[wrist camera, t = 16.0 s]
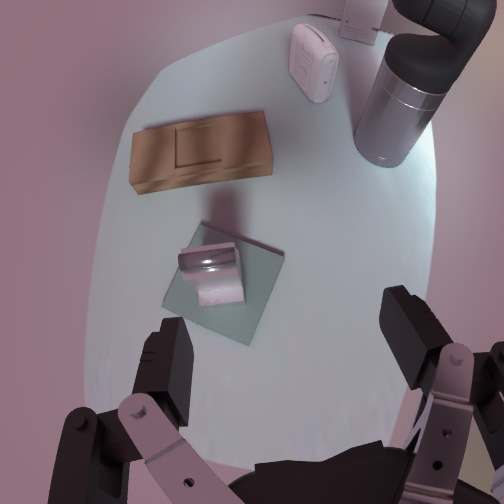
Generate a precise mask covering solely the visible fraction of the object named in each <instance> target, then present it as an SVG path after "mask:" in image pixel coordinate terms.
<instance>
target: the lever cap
mask: <svg viewBox="0 0 504 504" xmlns="http://www.w3.org/2000/svg"><path fill="white" fill-rule="evenodd" d="M178 263H179V268H180V271H181V272H182V271H183V281H185V282H186V283H187V284H188V285H189V286H191V287H192V288H193V289H194V290H195V291H197V292H198V296H199V306H200V307H202V308H203V309H205V310H210V309H219V308H227V307H236V306H244V305H246V302H245V294H244V286H243V277H242V269H241V260H240V255H239V251H238V249H236V247H235V243H234V242H229V243H222V244H214V245H206V246H199V247H191V248H184V249H181V254H179V255H178Z"/></svg>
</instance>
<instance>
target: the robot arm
mask: <svg viewBox="0 0 504 504" xmlns="http://www.w3.org/2000/svg"><path fill="white" fill-rule="evenodd" d="M392 2H393V4H394V7H395V9H396V10H397V11H398V13H400V14H401V15H402V16H404V17H405V18H407V19H409V20H411V21H412V22H415V23H417V24H419V25H421V26H423V27H425V28H427V29H429V30H431V31H433V32H435V33H437V34H439V35H436V36H435V35H434V36H426V35H417V34H406V33H405V34H398V35H395V36H394V37H392V38H391V39H390V41H389V42H388V45H387V47H386V50H385V54H384V56H383V59H382V62H381V65H380V68H379V71H378V74H377V76H376V79H375V82H374V85H373V87H372V90H371V93H370V96H369V98H368V101H367V104H366V106H365V109H364V111H363V114H362V116H361V119H360V122H359V124H358V127H357V129H356V132H355V135H354V140H355V145H356V147H357V149H358V151H359V152H360V153H361V155H362V156H363V157H364V158H365V159H367V160H368V161H369V162H371V163H373V164H375V165H377V166H380V167H386V168H392V167H396V166H398V165H400V164H401V163H402V162H403V161H404V160H405V158H406V157H407V155H408V154H409V152H410V151H411V149H412V148H413V146H414V145H415V143H416V142H417V140H418V139H419V137H420V136H421V134H422V133H423V131H424V129H425V128H426V126H427V125H428V123H429V122H430V120H431V119H432V117H433V115H434V114H435V112H436V111H437V109H438V107H439V106H440V104H441V102H442V101H443V99H444V97H445V96H446V94H447V92H448V91H449V89H450V88H451V86H452V84H453V83H454V82H455V81H456V80H457V78H458V77H459V76H460V74H461V72H462V71H463V69H464V67H465V66H466V64H467V63H468V61H469V59H470V58H471V56H472V55H473V53H474V52H475V51H476V49H477V47H478V46H479V45H480V43H481V41H482V40H483V38H484V37H485V35H486V33H487V32H488V30H489V28H490V26H491V24H492V22H493V19H494V17H495V12H496V7H497V0H392ZM379 324H380V328H381V331H382V333H383V335H384V337H385V339H386V341H387V343H388V345H389V347H390V349H391V351H392V353H393V355H394V357H395V359H396V361H397V363H398V365H399V367H400V369H401V371H402V373H403V375H404V377H405V379H406V381H407V383H408V385H409V387H410V389H411V390H414V389H417V388H421V390H422V392H423V393H422V395H421V397H420V401H419V404H418V407H417V410H416V414H415V417H414V420H413V423H412V426H411V429H410V432H409V434H408V437H407V439H406V441H405V443H404V445H403V447H402V449H401V448H395V447H383V444H382V441H381V440H379V441H375V442H372V443H368V444H364V445H361V446H357V447H353V448H350V449H348V450H346V451H344V452H342V453H340V454H338V455H336V456H334V457H331V458H329V459H327V460H325V461H321V462H309V461H292V460H284V461H276V462H268V463H259V464H255V471H253V472H250V473H248V474H246V475H243V476H241V477H240V478H238V479H236V480H235V481H233V482H232V483H230V484H229V485H228V486H227V485H226V484H224V482H223V481H222V480H221V479H220V478H219V477H218V476H217V475H216V474H215V473H214V472H213V471H212V469H211V468H210V467H209V466H208V465H207V464H206V463H205V462H204V461H203V459H202V458H201V457H200V456H199V455H198V454H197V452H196V451H195V450H194V449H193V448H192V447H191V445H190V444H189V443H188V442H187V441H186V440H185V439H184V438H183V437H182V436H181V435H180V433H179V427H184V426H188V419H189V406H190V394H191V383H192V372H193V361H194V352H193V346H192V342H191V339H190V336H189V334H188V331H187V328H186V325H185V322H184V319H183V317H173V318H164V319H163V320H162V323H161V327H160V332H152V333H151V334H150V336H149V337H148V338H147V340H146V341H145V343H144V347H143V351H142V355H141V359H140V363H139V366H138V370H137V375H136V379H135V383H134V387H133V391H132V395H130V396H128V397H126V398H125V399H124V400H123V401H122V402H121V404H120V405H119V408H118V409H115V410H112V411H108V412H104V413H100V414H96V413H95V412H94V411H93V410H92V409H90V408H87V407H80V408H77V409H74V410H73V411H71V412H70V413H69V415H68V416H67V418H66V419H65V423H64V426H63V430H62V434H61V439H60V442H59V447H58V451H57V455H56V461H55V465H54V470H53V475H52V480H51V486H50V492H49V498H48V504H127V494H128V480H129V467H130V462H131V461H136V460H140V459H144V460H145V465H146V467H147V469H148V470H149V472H150V473H151V474H152V476H153V477H154V479H155V480H156V482H157V483H158V485H159V486H160V487H161V489H162V490H163V491H164V493H165V494H166V495H167V497H168V498H169V499H170V501H171V502H172V503H173V504H504V402H503V400H502V398H501V396H500V394H499V392H500V391H501V393H502V395H503V397H504V342H497V343H495V344H494V345H493V346H492V348H491V350H490V352H482V353H472V352H471V350H470V349H469V348H468V347H466V346H464V345H462V344H459V343H454V342H453V341H452V339H451V338H450V336H449V335H448V333H447V332H446V331H445V329H444V328H443V326H442V325H441V323H440V322H439V321H438V319H436V317H435V315H434V314H433V312H431V309H430V308H429V307H428V305H427V304H426V302H425V301H423V300H422V299H420V298H419V297H418V296H416V295H412V296H411V295H410V294H409V292H408V291H407V289H406V288H405V287H404V286H403V285H399V286H394V287H388V288H385V289H384V292H383V298H382V304H381V310H380V315H379ZM472 414H473V417H474V419H475V421H476V423H477V426H478V428H479V431H480V433H481V435H482V438H483V440H484V443H485V445H486V448H487V450H488V453H489V456H490V458H491V461H492V464H493V466H494V469H495V474H494V476H493V480H492V485H491V488H490V490H491V493H492V494H493V496H491V495H489V494H487V493H485V492H483V491H481V490H479V489H477V488H475V487H473V486H471V485H469V484H467V483H466V482H464V481H462V480H460V479H458V476H459V472H460V468H461V465H462V461H463V457H464V453H465V449H466V445H467V440H468V435H469V430H470V425H471V419H472Z"/></svg>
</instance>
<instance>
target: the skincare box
mask: <svg viewBox="0 0 504 504" xmlns="http://www.w3.org/2000/svg"><path fill="white" fill-rule="evenodd" d="M387 3H388V0H346V2H345V7H344V11H343V15H342V20H341V24H340V37H342V38H347V39H352V40H356V41H360V42H363V43H366V44H369V45H374V42H375V39H376V36H377V33H378V30H379V27H380V24H381V21H382V18H383V15H384V12H385V9H386V6H387Z"/></svg>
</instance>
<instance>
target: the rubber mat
mask: <svg viewBox="0 0 504 504" xmlns="http://www.w3.org/2000/svg"><path fill="white" fill-rule="evenodd" d="M229 242H234V243H235V247H236V249H238V251H239V255H240V260H241V269H242V277H243V286H244V294H245V302H246V305H244V306H236V307H227V308H219V309H210V310H205V309H203V308H202V307H200V306H199V296H198V292H197V291H195V290H194V289H193V288H192V287H191V286H189V285H188V284H187V283H186V282H185V281H183V271H182V272H181V271H180V268H179V269H178V271H177V273H176V275H175V278H174V280H173V282H172V284H171V286H170V288H169V291H168V293H167V295H166V297H165V299H164V302H163V304H162V306H161V307H163V308H165V309H167V310H169V311H171V312H173V313H175V314H177V315H179V316H181V317H183V318H185V319H188V320H190V321H192V322H194V323H196V324H198V325H201V326H203V327H205V328H207V329H210V330H212V331H214V332H216V333H219V334H221V335H223V336H225V337H228V338H230V339H232V340H235V341H237V342H239V343H242V344H244V345H247V346H249V344H250V341H251V339H252V337H253V334H254V332H255V330H256V327H257V325H258V323H259V320H260V318H261V315H262V313H263V311H264V308H265V306H266V303H267V301H268V299H269V296H270V294H271V291H272V289H273V287H274V284H275V282H276V279H277V277H278V274H279V272H280V269H281V267H282V264H283V262H284V259H285V257H283V256H280V255H278V254H275V253H273V252H270V251H268V250H265V249H263V248H260V247H257V246H255V245H252V244H250V243H247V242H245V241H242V240H239V239H237V238H234V237H232V236H229V235H227V234H224V233H221V232H219V231H216V230H214V229H211V228H209V227H206V226H203V225H201V224H200V226H199V228H198V230H197V232H196V234H195V236H194V238H193V240H192V242H191V244H190V246H189V248H191V247H199V246H206V245H214V244H222V243H229Z"/></svg>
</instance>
